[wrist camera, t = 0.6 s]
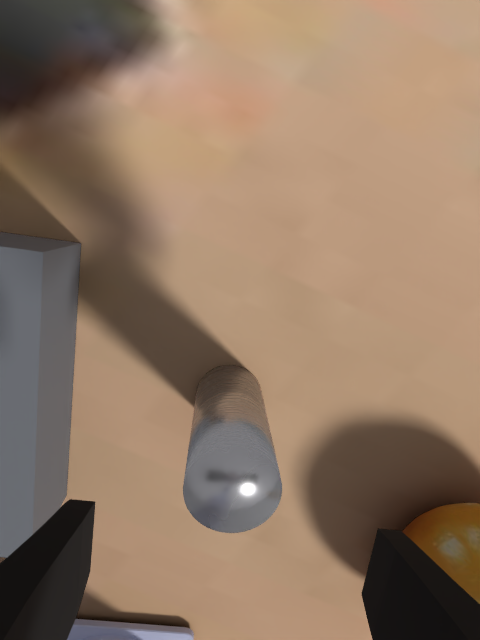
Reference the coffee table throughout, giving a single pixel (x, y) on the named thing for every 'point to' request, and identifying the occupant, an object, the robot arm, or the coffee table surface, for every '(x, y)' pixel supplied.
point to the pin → (231, 454)
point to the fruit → (452, 542)
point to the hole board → (35, 380)
